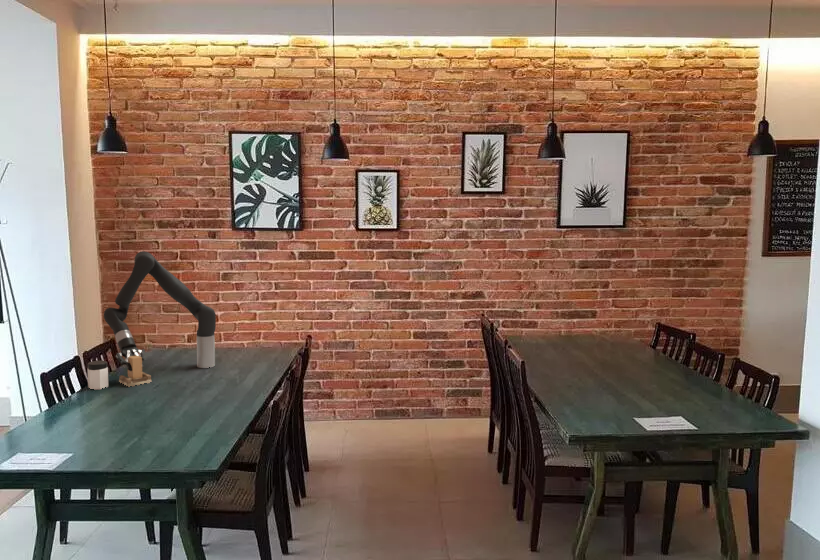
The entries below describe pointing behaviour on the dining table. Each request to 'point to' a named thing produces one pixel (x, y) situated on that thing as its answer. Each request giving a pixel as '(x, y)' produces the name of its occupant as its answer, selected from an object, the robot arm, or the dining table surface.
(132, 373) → the case
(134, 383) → the display stand
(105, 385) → the jar
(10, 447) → the dining table surface
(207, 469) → the dining table surface
